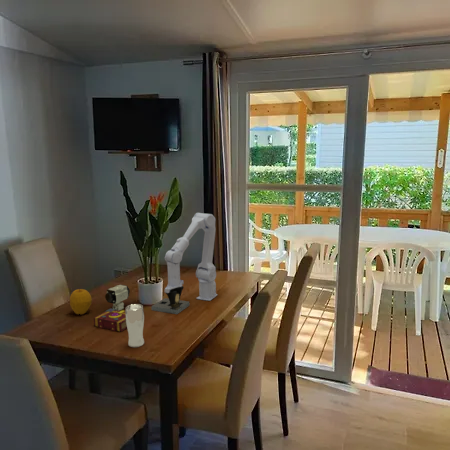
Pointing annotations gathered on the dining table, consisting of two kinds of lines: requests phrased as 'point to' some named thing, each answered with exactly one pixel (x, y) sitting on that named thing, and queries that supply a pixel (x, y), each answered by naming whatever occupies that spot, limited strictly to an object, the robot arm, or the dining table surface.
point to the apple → (80, 301)
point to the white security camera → (117, 296)
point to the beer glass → (135, 324)
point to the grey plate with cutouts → (169, 306)
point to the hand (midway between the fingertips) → (174, 302)
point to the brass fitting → (176, 301)
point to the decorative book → (111, 320)
